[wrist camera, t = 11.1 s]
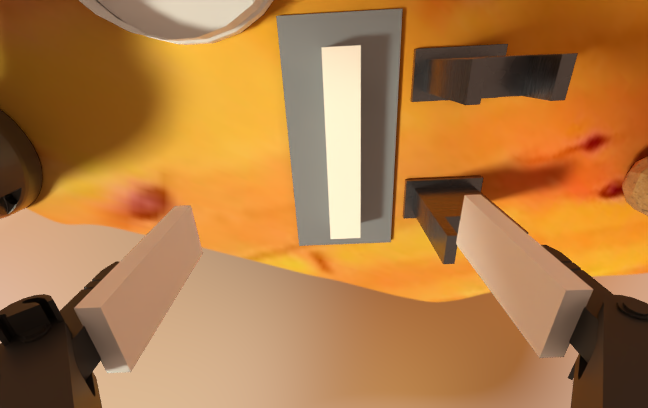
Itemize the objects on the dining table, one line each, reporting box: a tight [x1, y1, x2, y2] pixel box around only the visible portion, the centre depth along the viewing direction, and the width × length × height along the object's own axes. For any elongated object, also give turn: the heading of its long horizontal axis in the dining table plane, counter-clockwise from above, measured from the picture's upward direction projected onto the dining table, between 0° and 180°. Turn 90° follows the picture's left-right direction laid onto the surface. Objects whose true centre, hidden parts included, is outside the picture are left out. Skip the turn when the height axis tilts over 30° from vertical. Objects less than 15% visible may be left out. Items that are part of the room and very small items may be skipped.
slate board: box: [276, 9, 402, 246], centre depth 35 cm, size 12×26×1 cm, turn 3°
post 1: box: [411, 44, 578, 105], centre depth 26 cm, size 9×5×12 cm, turn 93°
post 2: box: [403, 176, 528, 264], centre depth 32 cm, size 9×5×12 cm, turn 93°
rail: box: [321, 45, 361, 239], centre depth 33 cm, size 4×20×4 cm, turn 3°
